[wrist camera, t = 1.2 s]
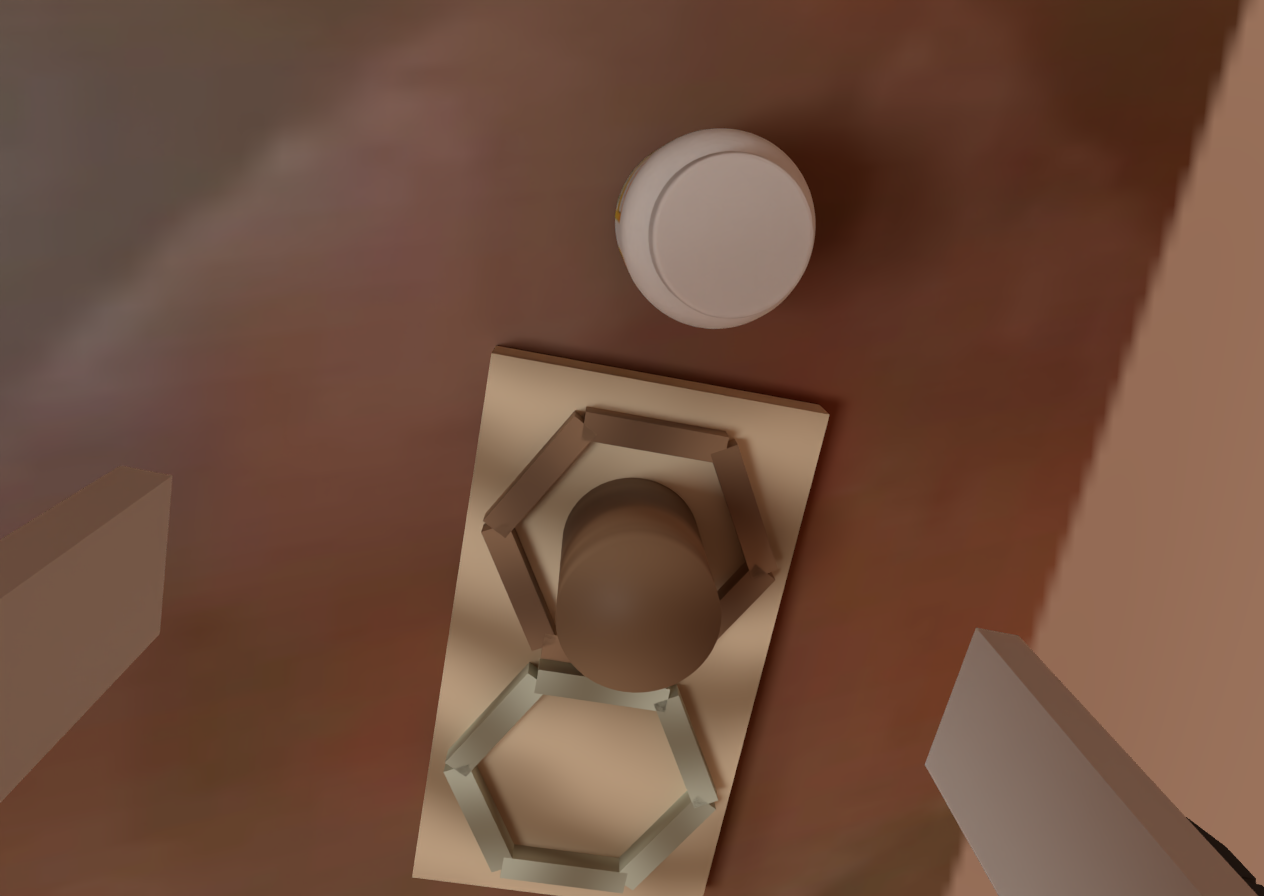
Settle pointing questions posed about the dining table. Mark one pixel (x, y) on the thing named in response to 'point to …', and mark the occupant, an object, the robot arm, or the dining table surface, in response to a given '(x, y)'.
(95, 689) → the robot arm
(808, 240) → the supplement bottle
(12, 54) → the dining table surface
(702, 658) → the walnut dowel stub
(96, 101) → the dining table surface
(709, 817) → the board
